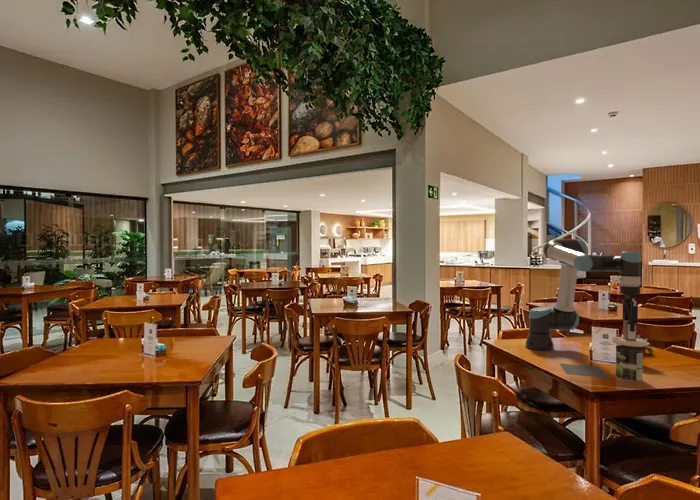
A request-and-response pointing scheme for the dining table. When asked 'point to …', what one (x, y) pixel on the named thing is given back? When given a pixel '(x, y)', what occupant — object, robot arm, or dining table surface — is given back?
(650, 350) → the passion flower
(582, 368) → the mat
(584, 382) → the dining table surface
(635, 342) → the lid
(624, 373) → the coffee can
